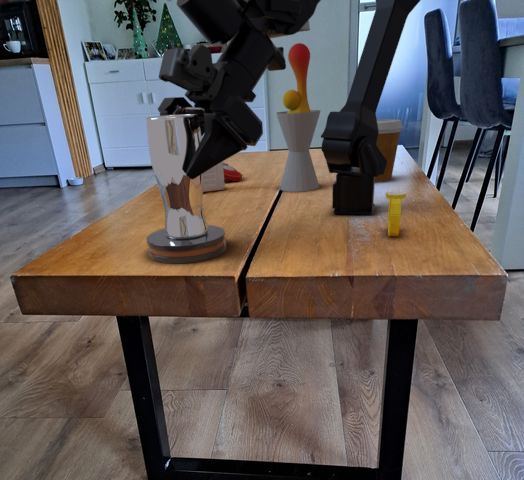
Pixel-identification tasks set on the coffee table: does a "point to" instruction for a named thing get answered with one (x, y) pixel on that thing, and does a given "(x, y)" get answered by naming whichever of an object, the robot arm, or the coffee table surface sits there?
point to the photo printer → (214, 178)
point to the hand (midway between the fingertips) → (172, 173)
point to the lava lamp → (298, 125)
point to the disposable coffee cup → (388, 144)
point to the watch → (394, 211)
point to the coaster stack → (186, 246)
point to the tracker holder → (231, 173)
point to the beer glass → (177, 173)
